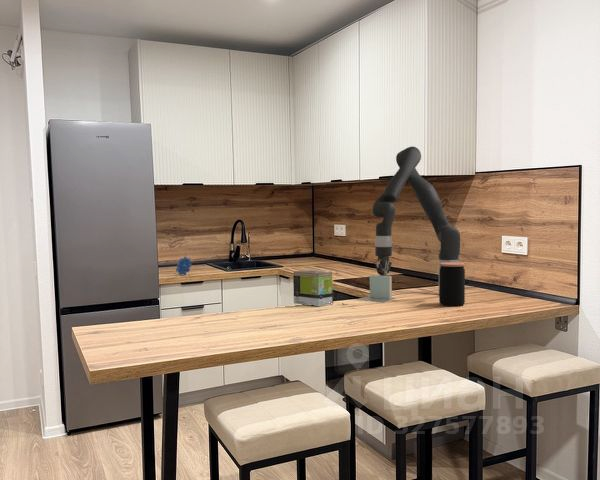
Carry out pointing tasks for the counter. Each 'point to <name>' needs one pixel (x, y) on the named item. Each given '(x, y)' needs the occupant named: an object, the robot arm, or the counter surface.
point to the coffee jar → (452, 284)
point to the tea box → (312, 287)
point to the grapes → (183, 266)
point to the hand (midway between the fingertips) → (383, 283)
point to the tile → (381, 286)
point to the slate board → (375, 299)
